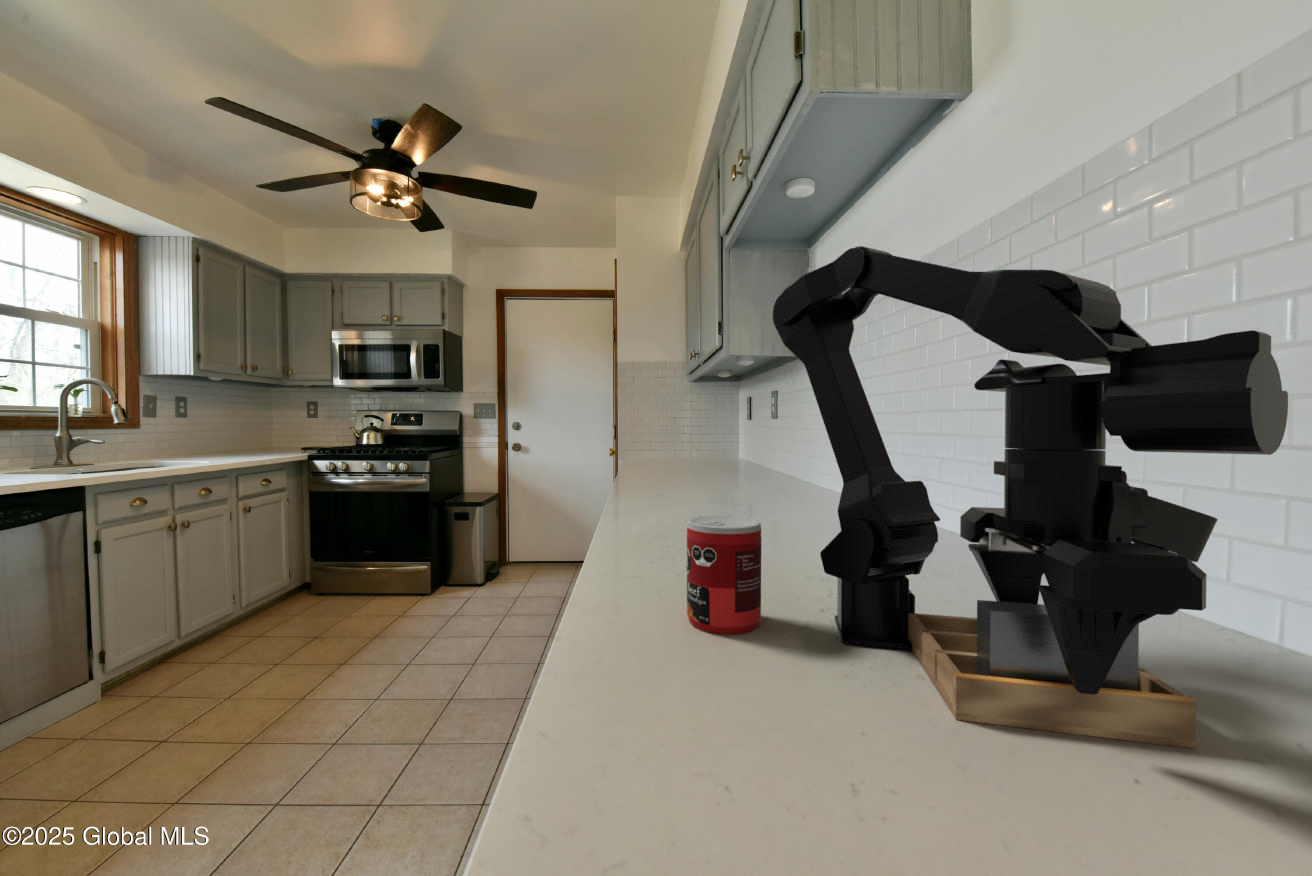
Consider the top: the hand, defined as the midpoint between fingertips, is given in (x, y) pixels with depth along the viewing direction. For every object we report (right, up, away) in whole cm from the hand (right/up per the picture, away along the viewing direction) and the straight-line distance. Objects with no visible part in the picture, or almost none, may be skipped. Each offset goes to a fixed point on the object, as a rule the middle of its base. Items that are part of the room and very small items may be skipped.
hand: (1050, 663), depth 36 cm
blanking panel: (0, -3, 0) cm, 3 cm away
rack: (+1, -4, +4) cm, 6 cm away
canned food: (-21, -4, +18) cm, 28 cm away
